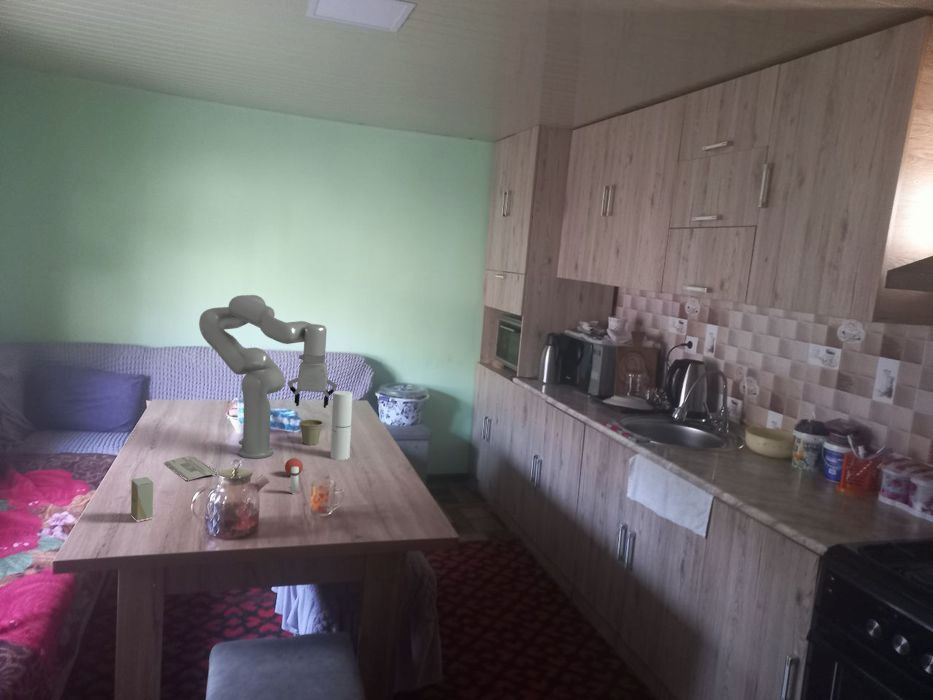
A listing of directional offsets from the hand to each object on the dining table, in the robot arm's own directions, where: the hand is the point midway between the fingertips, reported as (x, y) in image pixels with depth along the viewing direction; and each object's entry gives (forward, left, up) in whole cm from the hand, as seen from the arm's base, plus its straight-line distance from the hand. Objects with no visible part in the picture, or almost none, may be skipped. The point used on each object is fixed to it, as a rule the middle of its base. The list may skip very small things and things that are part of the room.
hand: (311, 406), depth 235 cm
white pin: (+18, -22, -22) cm, 36 cm away
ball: (+5, -11, -19) cm, 23 cm away
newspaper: (-23, -31, -23) cm, 45 cm away
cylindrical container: (+1, +15, -22) cm, 26 cm away
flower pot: (-20, +19, -22) cm, 35 cm away
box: (+4, -64, -22) cm, 68 cm away
